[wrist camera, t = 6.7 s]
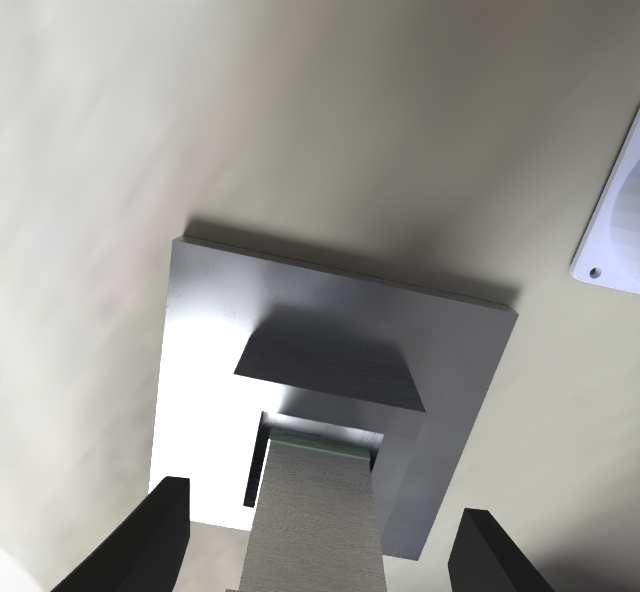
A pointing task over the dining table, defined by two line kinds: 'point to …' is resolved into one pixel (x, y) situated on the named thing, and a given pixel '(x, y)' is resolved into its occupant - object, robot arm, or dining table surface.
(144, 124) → the dining table surface
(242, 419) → the stand base
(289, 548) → the steel column
